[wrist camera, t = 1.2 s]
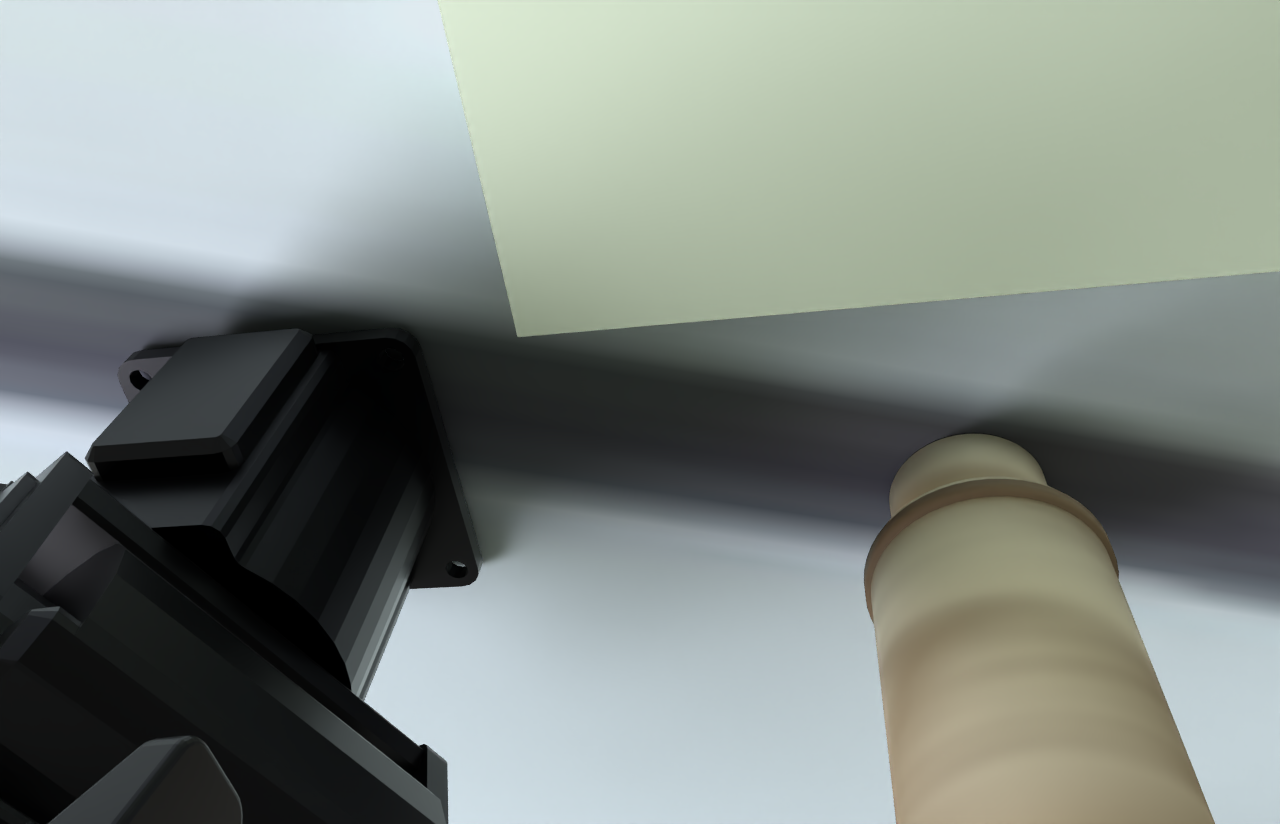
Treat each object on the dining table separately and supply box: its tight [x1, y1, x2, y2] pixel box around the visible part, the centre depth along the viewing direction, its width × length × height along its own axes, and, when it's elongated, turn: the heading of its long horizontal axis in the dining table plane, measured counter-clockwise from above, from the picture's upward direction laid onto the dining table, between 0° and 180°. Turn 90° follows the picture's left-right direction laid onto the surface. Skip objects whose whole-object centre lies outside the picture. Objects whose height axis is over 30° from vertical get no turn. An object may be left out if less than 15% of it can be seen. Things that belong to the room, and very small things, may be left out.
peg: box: [864, 434, 1215, 824], centre depth 20 cm, size 5×5×9 cm
